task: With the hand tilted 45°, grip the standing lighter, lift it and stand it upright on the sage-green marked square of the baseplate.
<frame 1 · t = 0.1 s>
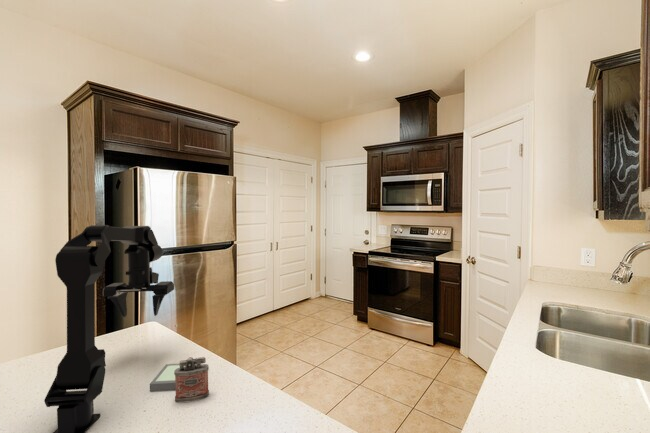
hand: (140, 315, 95), 15 cm above the countertop, tool pointing down, fingers open, 9 cm apart
baseplate: (177, 379, 86), on the countertop
lighter: (192, 397, 78), on the countertop
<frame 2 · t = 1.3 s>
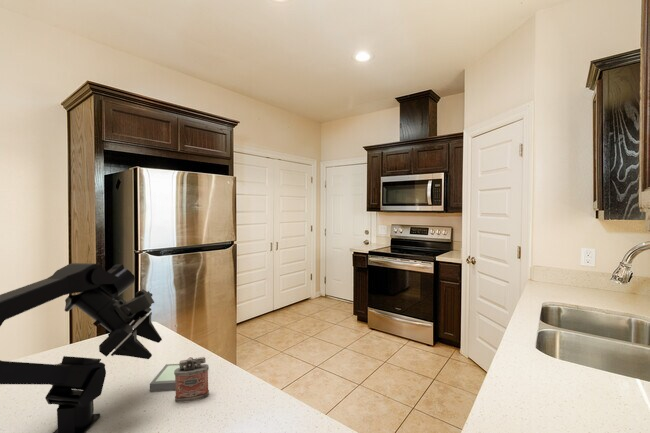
hand: (155, 348, 76), 14 cm above the countertop, tool tilted 45°, fingers open, 9 cm apart
nothing on the countertop moved.
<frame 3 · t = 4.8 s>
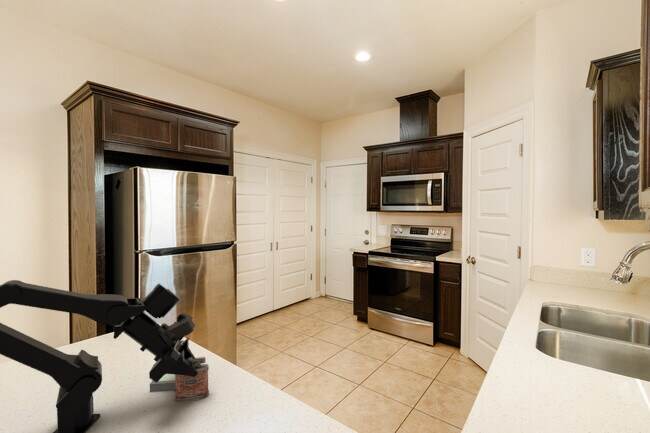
hand: (197, 370, 78), 7 cm above the countertop, tool tilted 45°, fingers closed on lighter, 3 cm apart
lighter: (192, 397, 78), on the countertop, touching gripper
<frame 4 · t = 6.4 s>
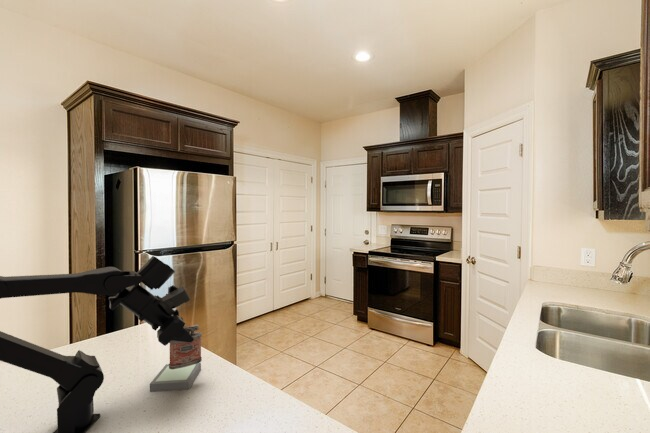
hand: (191, 338, 83), 13 cm above the countertop, tool tilted 45°, fingers closed on lighter, 3 cm apart
lighter: (185, 364, 82), point 6 cm above the countertop, touching gripper
when the fingers open (10 cm above the countertop, at t = 8.3 s): lighter drops 1 cm, resting on baseplate.
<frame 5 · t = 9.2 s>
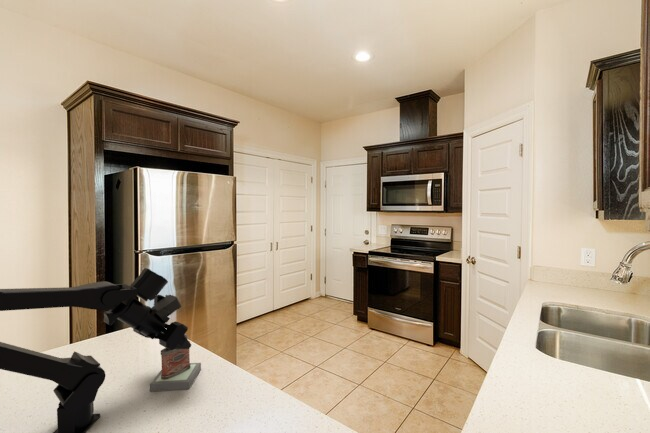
hand: (180, 342, 87), 10 cm above the countertop, tool tilted 45°, fingers open, 9 cm apart
lighter: (176, 373, 86), point 2 cm above the countertop, touching baseplate
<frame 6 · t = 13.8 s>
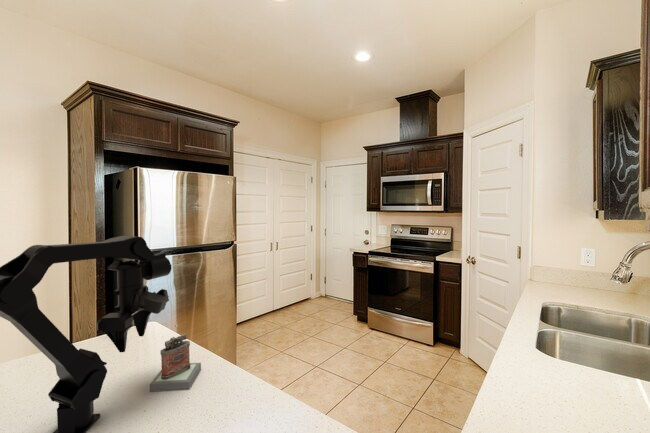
hand: (132, 343, 80), 13 cm above the countertop, tool pointing down, fingers open, 9 cm apart
nothing on the countertop moved.
at the end: lighter inside the target area on the baseplate (0.1 cm from its centre), point 1.9 cm above the baseplate's base; lighter tilted 0°; the gripper is holding nothing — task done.
